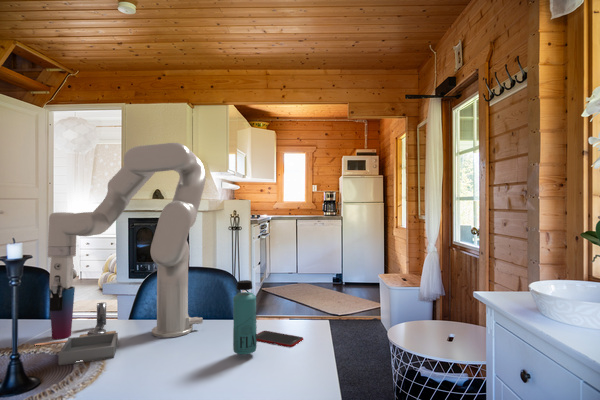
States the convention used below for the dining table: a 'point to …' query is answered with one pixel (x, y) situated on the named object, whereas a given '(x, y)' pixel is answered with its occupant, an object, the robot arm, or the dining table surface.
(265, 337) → the cell phone
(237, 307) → the beverage bottle
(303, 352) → the dining table surface
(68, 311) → the cup
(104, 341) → the tray
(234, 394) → the dining table surface
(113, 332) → the crank base
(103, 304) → the crank
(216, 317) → the dining table surface
